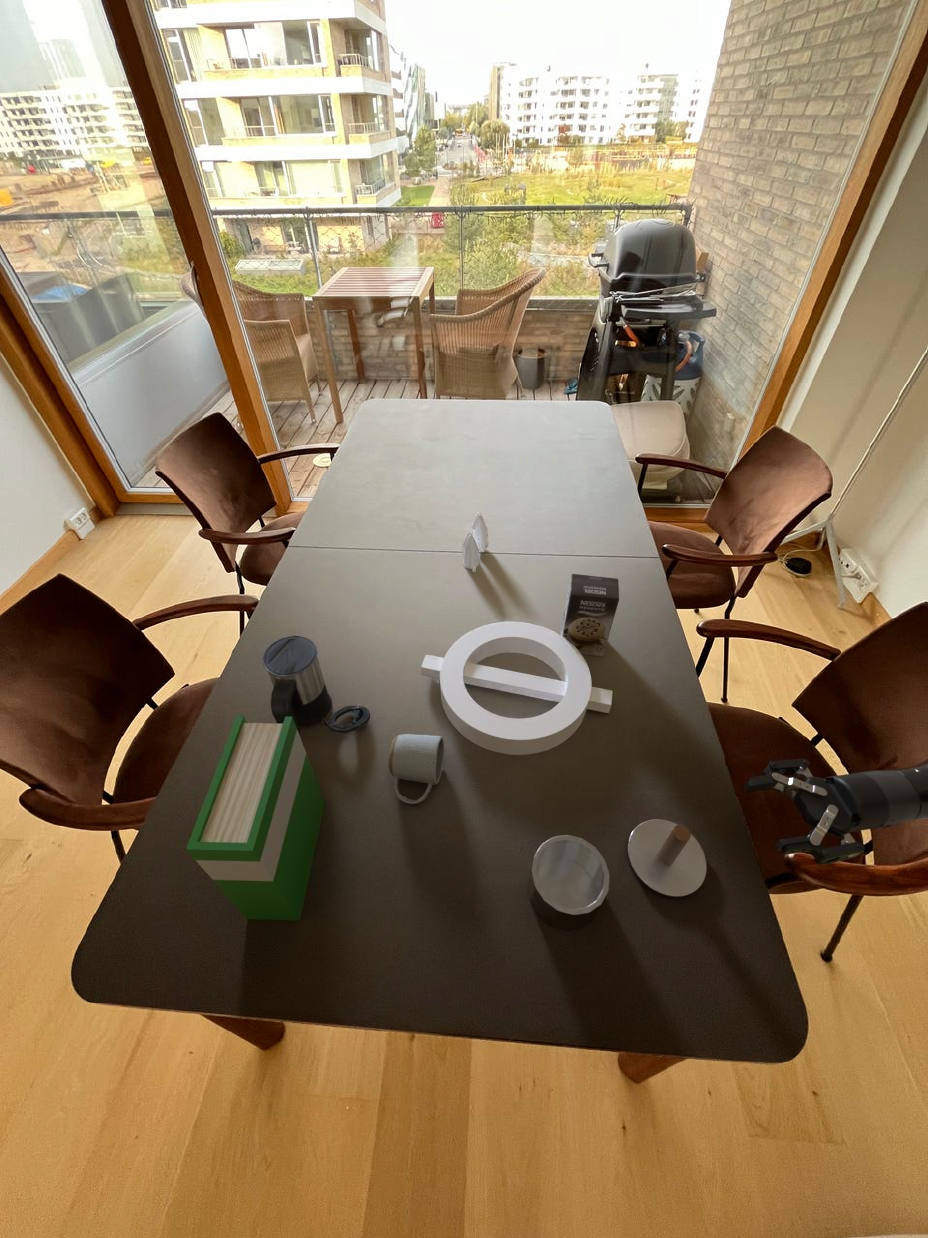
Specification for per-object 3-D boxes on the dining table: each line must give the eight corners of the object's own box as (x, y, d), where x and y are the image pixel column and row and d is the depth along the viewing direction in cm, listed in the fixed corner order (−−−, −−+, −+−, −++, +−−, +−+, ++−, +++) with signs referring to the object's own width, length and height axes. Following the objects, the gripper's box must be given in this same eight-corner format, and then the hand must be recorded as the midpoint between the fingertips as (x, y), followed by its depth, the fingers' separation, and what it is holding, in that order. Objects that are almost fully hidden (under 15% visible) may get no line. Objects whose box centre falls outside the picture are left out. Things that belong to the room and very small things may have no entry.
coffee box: (558, 652, 113) (569, 594, 101) (560, 630, 117) (570, 572, 106) (604, 658, 111) (619, 599, 100) (603, 635, 116) (618, 577, 105)
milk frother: (281, 692, 105) (261, 640, 95) (364, 676, 108) (353, 623, 98) (283, 756, 96) (261, 705, 85) (374, 736, 98) (363, 685, 88)
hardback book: (280, 801, 90) (236, 715, 73) (325, 802, 90) (292, 716, 73) (247, 919, 77) (185, 849, 60) (299, 920, 77) (252, 851, 60)
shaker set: (475, 540, 139) (476, 502, 131) (491, 543, 138) (492, 506, 130) (459, 569, 131) (458, 531, 124) (475, 572, 130) (476, 534, 123)
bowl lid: (720, 873, 82) (743, 847, 75) (664, 915, 78) (682, 891, 71) (665, 809, 89) (681, 781, 82) (610, 845, 85) (622, 818, 78)
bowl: (615, 905, 79) (625, 887, 74) (556, 946, 75) (563, 930, 70) (570, 842, 85) (576, 822, 80) (514, 877, 81) (517, 858, 76)
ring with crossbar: (618, 711, 102) (623, 696, 99) (491, 782, 92) (492, 767, 89) (530, 619, 119) (532, 603, 116) (415, 670, 109) (413, 655, 106)
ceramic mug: (399, 747, 97) (394, 723, 91) (445, 752, 96) (443, 728, 91) (385, 804, 90) (380, 781, 84) (435, 810, 89) (433, 787, 83)
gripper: (850, 742, 80) (745, 756, 79) (920, 837, 71) (802, 856, 69) (826, 768, 86) (728, 782, 84) (888, 860, 76) (778, 878, 74)
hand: (761, 815), depth 77 cm, fingers open, 8 cm apart
